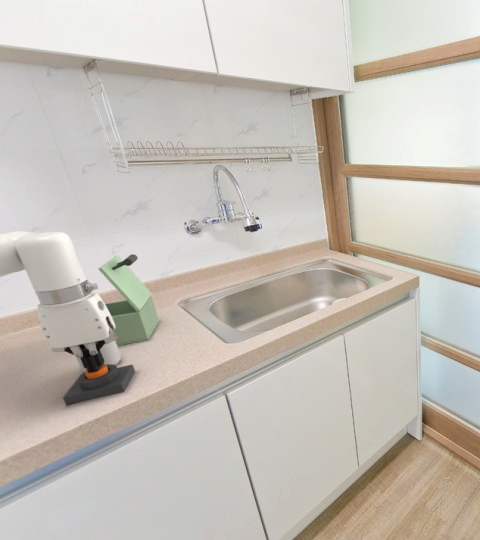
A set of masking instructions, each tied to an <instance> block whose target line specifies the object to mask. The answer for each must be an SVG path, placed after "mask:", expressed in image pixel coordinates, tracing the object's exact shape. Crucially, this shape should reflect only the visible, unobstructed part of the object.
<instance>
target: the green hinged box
mask: <svg viewBox="0 0 480 540" xmlns="http://www.w3.org/2000/svg"><path fill="white" fill-rule="evenodd" d="M153 301H154V300H153V297H152V295H151V296H150V297H149V299H148V300H147V302H146V303H145V304H144V306H143V307H142V308H141V310H140V311H138V312H137V311H136V310H135V309H134V308H133V307H132V305H131V304H130V303H129V302H128V301H127V300H126V299H124V300H117V301H110V302H104V303H105V305H106V307H107V309H108V310H109V312H110V314H111V316H112V318H113V321H114V323H115V329H114V330H113V331H114V332H115V334H116V335H117V336H118V337H117V338H116V340H115V341H116V344H117V347H119V346H125V345H130V344H134V343H140V342H145V341H149V340H150V338H151V336H152V334H153V333H154V331H155V329H156V327H157V325H158V324H159V321H160V320H159V316H158V313H157V311H156V307H155V304H154V302H153Z"/></svg>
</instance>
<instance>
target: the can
mask: <svg viewBox="0 0 480 540" xmlns="http://www.w3.org/2000/svg"><path fill="white" fill-rule="evenodd" d="M86 346H87V347H88V343H86ZM88 349H89V347H88ZM100 351H101V354H102V356H103V358H104V364H106V365H107V364H112V365H115V366H117V364H119V362H120V361H121V360H122V355H121V352H120V349H119V346H117V344H116V341H113V342H110V343H108V344H105V345H103V347H102V348H101V349H100ZM76 359H77V362H78V364H79V367H80V369H81V371H82V372H83V373H85V371H86V370H87V368H84V366H83V364H82V361H81V359H80V358H77V357H76Z"/></svg>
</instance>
